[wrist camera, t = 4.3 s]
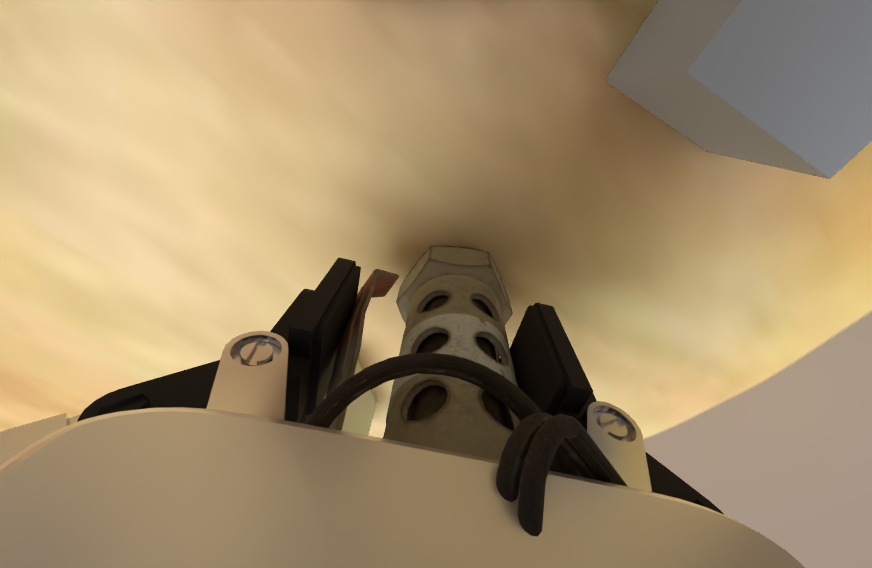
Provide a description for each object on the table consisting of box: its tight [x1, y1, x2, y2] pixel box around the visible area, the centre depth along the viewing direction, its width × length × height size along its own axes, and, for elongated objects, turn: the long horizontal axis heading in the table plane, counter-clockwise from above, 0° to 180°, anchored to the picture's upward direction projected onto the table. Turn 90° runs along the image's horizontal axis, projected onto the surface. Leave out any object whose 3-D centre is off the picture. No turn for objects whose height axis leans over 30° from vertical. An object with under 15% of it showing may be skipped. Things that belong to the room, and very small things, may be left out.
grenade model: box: [304, 246, 628, 536], centre depth 9 cm, size 6×7×15 cm
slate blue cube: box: [605, 0, 872, 179], centre depth 9 cm, size 5×5×5 cm
